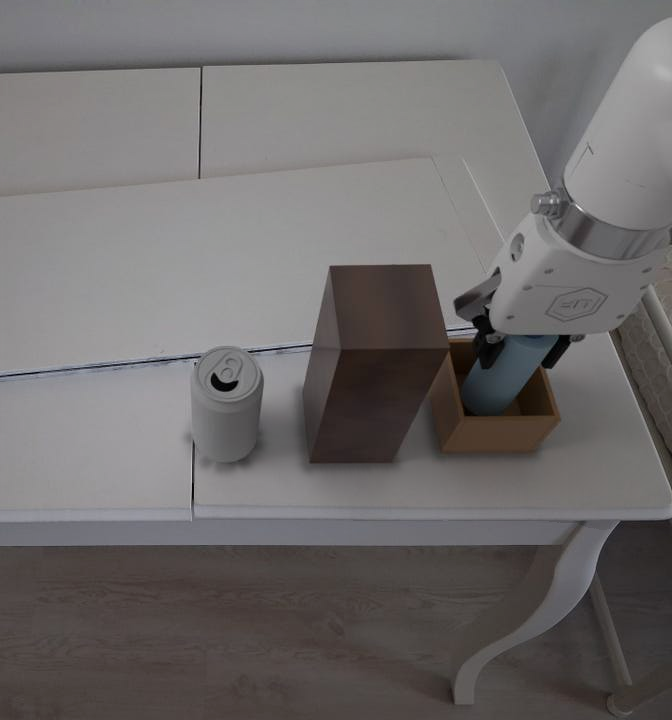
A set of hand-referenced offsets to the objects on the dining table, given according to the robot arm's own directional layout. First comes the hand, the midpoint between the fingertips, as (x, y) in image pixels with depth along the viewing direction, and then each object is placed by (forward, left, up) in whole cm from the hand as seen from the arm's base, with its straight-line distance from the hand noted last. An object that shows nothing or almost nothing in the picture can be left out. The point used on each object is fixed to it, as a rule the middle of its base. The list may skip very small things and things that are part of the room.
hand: (512, 354), depth 64 cm
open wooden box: (0, 0, -10) cm, 10 cm away
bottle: (0, 0, -8) cm, 8 cm away
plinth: (+12, +6, -10) cm, 17 cm away
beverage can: (+23, +11, -11) cm, 27 cm away
